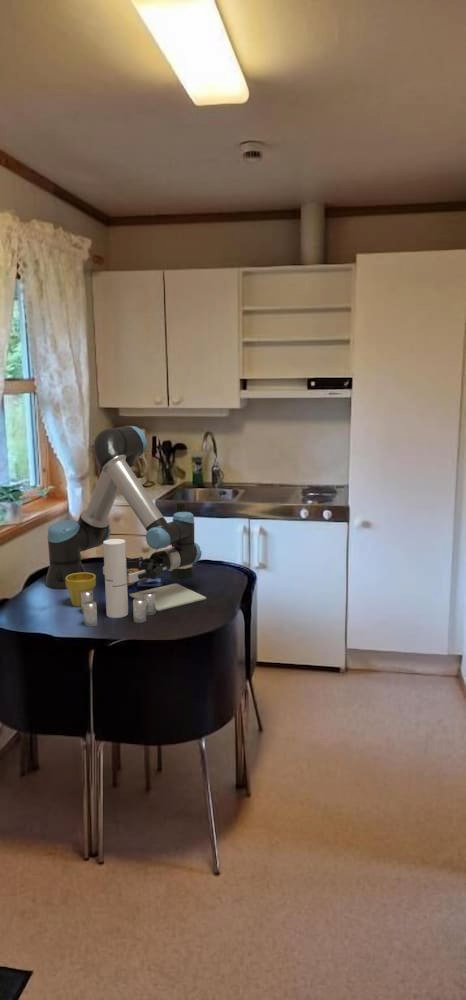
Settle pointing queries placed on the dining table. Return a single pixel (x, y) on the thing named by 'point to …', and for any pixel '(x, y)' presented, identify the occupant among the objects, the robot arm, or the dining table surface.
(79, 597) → the plant pot
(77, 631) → the dining table surface
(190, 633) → the dining table surface
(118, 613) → the cylindrical container
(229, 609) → the dining table surface
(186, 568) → the wine bottle
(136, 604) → the lit candle cluster
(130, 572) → the croissant
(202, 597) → the sage board
